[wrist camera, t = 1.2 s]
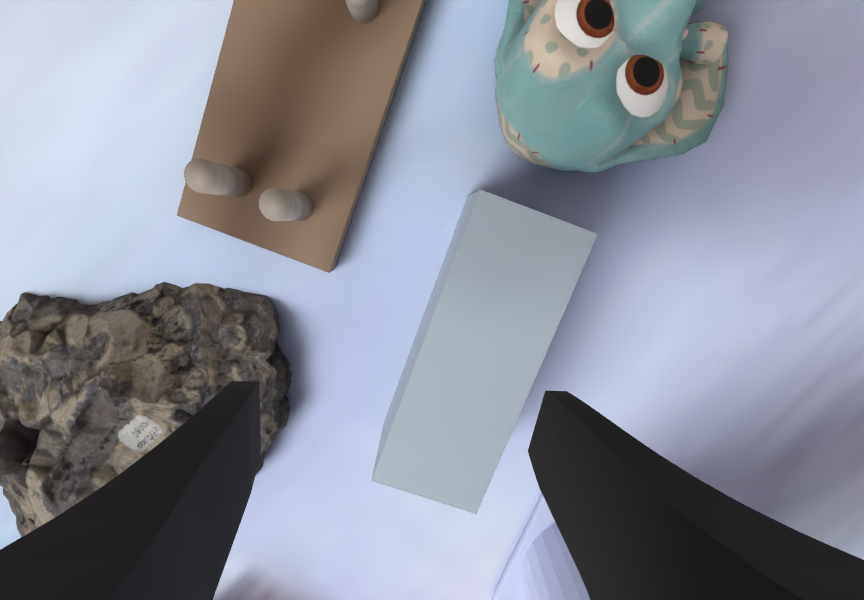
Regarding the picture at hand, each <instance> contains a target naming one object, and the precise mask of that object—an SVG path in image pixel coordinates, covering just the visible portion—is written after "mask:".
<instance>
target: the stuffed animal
mask: <svg viewBox="0 0 864 600" xmlns="http://www.w3.org/2000/svg"><path fill="white" fill-rule="evenodd" d="M708 1H709V0H509V4H508V11H507V18H506V23H505V28H504V31H503V34H502V37H501V40H500V42H499V45H498V48H497V51H496V56H495V74H496V78H497V84H496V91H495V96H496V103H497V109H498V116H499V123H500V127H501V130H502V133H503V135H504V138H505V141H506V143H507V144H508V145H509V147H510V148H511V150H512V151H513V152H514V153H515V154H516V155H518V156H519V157H520V158H521V159H523V160H525V161H527V162H529V163H532V164H535V165H539V166H543V167H548V168H552V169H557V170H561V171H575V170H578V171H581V172H602V171H604V170H607V169H609V168H612V167H614V166H617V165H619V164H625V163H632V162H638V161H645V160H651V159H657V158H663V157H669V156H675V155H681V154H684V153H686V152H687V151H689V150H691V149H693V148H695V147H696V146H698V145H700V144H702V143H703V142H705V141H706V140H707V138H708V136H709V134H710V132H711V130H712V128H713V126H714V124H715V122H716V120H717V118H718V116H719V113H720V111H721V109H722V107H723V103H724V94H725V85H726V76H727V67H728V55H727V45H726V43H727V38H728V32H727V30H726V27H725V26H723V25H720V24H717V23H715V22H710V21H698V22H693V23H689V24H688V22H689V20H690V17H691V15H692V14H694V13H695V12H697V11H698V10H699V9H701V8H702V7H703V6H705V5H706V4H707V3H708Z"/></svg>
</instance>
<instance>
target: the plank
mask: <svg viewBox="0 0 864 600" xmlns="http://www.w3.org/2000/svg"><path fill="white" fill-rule="evenodd" d="M597 235H598V234H597V233H594V232H591V231H589V230H586V229H584V228H581V227H578V226H576V225H573V224H570V223H568V222H565V221H562V220H560V219H557V218H555V217H552V216H549V215H547V214H544V213H541V212H539V211H536V210H533V209H531V208H528V207H526V206H523V205H520V204H518V203H515V202H512V201H510V200H507V199H505V198H502V197H499V196H497V195H494V194H491V193H489V192H486V191H483V190H481V189H480V190H478V191H476V192H474V193H472V194H470V195H469V196H467V199H466V201H465V204H464V207H463V210H462V212H461V215H460V218H459V220H458V223H457V226H456V229H455V231H454V234H453V237H452V239H451V242H450V245H449V247H448V250H447V253H446V256H445V258H444V261H443V264H442V266H441V269H440V272H439V275H438V277H437V280H436V283H435V285H434V288H433V291H432V294H431V296H430V299H429V302H428V304H427V307H426V310H425V313H424V315H423V318H422V321H421V323H420V326H419V329H418V331H417V334H416V337H415V340H414V342H413V345H412V348H411V350H410V353H409V356H408V359H407V361H406V364H405V367H404V369H403V372H402V375H401V378H400V380H399V383H398V386H397V388H396V391H395V394H394V397H393V399H392V402H391V405H390V407H389V410H388V413H387V415H386V418H385V421H384V424H383V429H382V434H381V438H380V443H379V448H378V452H377V457H376V462H375V466H374V471H373V476H372V481H374V482H377V483H380V484H383V485H386V486H390V487H393V488H396V489H399V490H402V491H405V492H409V493H412V494H415V495H418V496H421V497H424V498H428V499H431V500H434V501H437V502H440V503H443V504H447V505H450V506H453V507H456V508H459V509H462V510H466V511H469V512H472V513H475V514H477V511H478V509H479V507H480V505H481V502H482V500H483V498H484V495H485V493H486V491H487V488H488V486H489V484H490V482H491V479H492V477H493V475H494V472H495V470H496V468H497V465H498V463H499V461H500V459H501V456H502V454H503V452H504V449H505V447H506V445H507V442H508V440H509V438H510V436H511V433H512V431H513V429H514V426H515V424H516V422H517V419H518V417H519V415H520V412H521V410H522V408H523V406H524V403H525V401H526V399H527V396H528V394H529V392H530V389H531V387H532V385H533V383H534V380H535V378H536V376H537V373H538V371H539V369H540V366H541V364H542V362H543V360H544V357H545V355H546V353H547V350H548V348H549V346H550V343H551V341H552V339H553V336H554V334H555V332H556V330H557V327H558V325H559V323H560V320H561V318H562V316H563V313H564V311H565V309H566V307H567V304H568V302H569V300H570V297H571V295H572V293H573V290H574V288H575V286H576V284H577V281H578V279H579V277H580V274H581V272H582V270H583V267H584V265H585V263H586V261H587V258H588V256H589V254H590V251H591V249H592V247H593V244H594V242H595V240H596V237H597Z"/></svg>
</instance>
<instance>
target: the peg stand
mask: <svg viewBox="0 0 864 600" xmlns="http://www.w3.org/2000/svg"><path fill="white" fill-rule="evenodd" d="M426 1H427V0H234V3H233V6H232V10H231V14H230V18H229V21H228V25H227V29H226V33H225V37H224V40H223V44H222V48H221V52H220V55H219V59H218V63H217V67H216V70H215V74H214V78H213V82H212V85H211V89H210V93H209V97H208V100H207V104H206V108H205V112H204V115H203V119H202V123H201V127H200V131H199V134H198V138H197V142H196V146H195V149H194V153H193V157H192V161H190V162H189V163H188V164H187V165H186V167H185V170H184V178H185V181H186V183H185V187H184V191H183V194H182V198H181V202H180V206H179V209H178V213H177V216H180V217H182V218H185V219H188V220H190V221H193V222H196V223H198V224H201V225H204V226H206V227H209V228H212V229H214V230H217V231H220V232H222V233H225V234H228V235H230V236H233V237H236V238H238V239H241V240H243V241H246V242H249V243H251V244H254V245H257V246H259V247H262V248H265V249H267V250H270V251H273V252H275V253H278V254H281V255H283V256H286V257H289V258H291V259H294V260H297V261H299V262H302V263H305V264H307V265H310V266H313V267H315V268H318V269H320V270H323V271H326V272H328V273H329V272H331V271H333V270H334V268H335V265H336V262H337V259H338V257H339V254H340V251H341V248H342V245H343V242H344V239H345V236H346V233H347V230H348V227H349V225H350V222H351V219H352V216H353V213H354V210H355V207H356V204H357V201H358V198H359V196H360V193H361V190H362V187H363V184H364V181H365V178H366V175H367V172H368V169H369V167H370V164H371V161H372V158H373V155H374V152H375V149H376V146H377V143H378V140H379V137H380V135H381V132H382V129H383V126H384V123H385V120H386V117H387V114H388V111H389V108H390V106H391V103H392V100H393V97H394V94H395V91H396V88H397V85H398V82H399V79H400V77H401V74H402V71H403V68H404V65H405V62H406V59H407V56H408V53H409V50H410V47H411V45H412V42H413V39H414V36H415V33H416V30H417V27H418V24H419V21H420V18H421V16H422V13H423V10H424V7H425V4H426Z"/></svg>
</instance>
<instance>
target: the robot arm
mask: <svg viewBox="0 0 864 600" xmlns="http://www.w3.org/2000/svg"><path fill="white" fill-rule="evenodd" d="M260 452H261V432H260V382H252V381H231V382H230V383H228V384H227V385H226V386H225V387H224V388H223V389H221V390H220V391H219V392H218V393H217V394H216V395H215V396H214V397H213V398H211V399H210V400H209V401H208V402H207V403H206V404H205V405H204V406H203V407H201V408H200V409H199V410H198V411H197V412H196V413H195V414H194V415H192V416H191V417H190V418H189V419H188V420H187V421H185V422H184V423H183V424H182V425H181V426H180V427H178V428H177V429H176V430H175V431H174V432H172V433H171V434H170V435H169V436H168V437H167V438H165V439H164V440H163V441H162V442H160V443H159V444H158V445H157V446H155V447H154V448H153V449H152V450H150V451H149V452H148V453H146V454H145V455H144V456H143V457H141V458H140V459H139V460H137V461H136V462H135V463H133V464H132V465H131V466H130V467H128V468H127V469H126V470H124V471H123V472H122V473H120V474H119V475H118V476H116V477H115V478H113V479H112V480H111V481H109V482H108V483H106V484H105V485H104V486H102V487H101V488H99V489H98V490H96V491H95V492H93V493H92V494H90V495H89V496H87V497H86V498H84V499H83V500H81V501H80V502H78V503H77V504H75V505H74V506H72V507H71V508H69V509H68V510H66V511H64V512H63V513H61V514H60V515H58V516H57V517H55V518H53V519H52V520H50V521H48V522H47V523H45V524H43V525H42V526H40V527H38V528H36V529H35V530H33V531H31V532H30V533H28V534H26V535H25V536H23V537H21V538H20V539H18V540H16V541H15V542H13V543H11V544H9V545H8V546H6V547H4V548H3V549H1V550H0V600H213V597H214V594H215V591H216V588H217V586H218V583H219V580H220V577H221V575H222V572H223V569H224V566H225V563H226V561H227V558H228V555H229V552H230V550H231V547H232V544H233V541H234V539H235V536H236V533H237V530H238V528H239V525H240V522H241V519H242V516H243V514H244V511H245V508H246V505H247V502H248V499H249V497H250V494H251V490H252V486H253V482H254V478H255V474H256V470H257V465H258V461H259V456H260ZM528 453H529V456H530V459H531V463H532V466H533V470H534V473H535V476H536V479H537V482H538V485H539V487H540V490H541V492H542V496H541V498H540V500H539V502H538V504H537V506H536V508H535V510H534V512H533V515H532V517H531V519H530V521H529V523H528V525H527V527H526V529H525V531H524V533H523V535H522V537H521V539H520V541H519V543H518V545H517V547H516V549H515V551H514V553H513V555H512V557H511V559H510V561H509V563H508V566H507V568H506V570H505V572H504V574H503V576H502V578H501V580H500V582H499V584H498V586H497V588H496V590H495V592H494V594H493V596H492V600H864V560H862V559H860V558H858V557H855V556H853V555H851V554H848V553H846V552H844V551H841V550H839V549H837V548H834V547H832V546H830V545H827V544H825V543H823V542H820V541H818V540H816V539H814V538H811V537H809V536H807V535H805V534H803V533H800V532H798V531H796V530H794V529H792V528H790V527H788V526H786V525H784V524H782V523H780V522H778V521H775V520H773V519H771V518H769V517H767V516H765V515H763V514H761V513H759V512H757V511H755V510H753V509H751V508H749V507H747V506H746V505H744V504H742V503H740V502H738V501H736V500H734V499H732V498H731V497H729V496H727V495H725V494H723V493H722V492H720V491H718V490H716V489H715V488H713V487H711V486H709V485H708V484H706V483H704V482H702V481H700V480H699V479H697V478H695V477H694V476H692V475H690V474H689V473H687V472H686V471H684V470H682V469H681V468H679V467H678V466H676V465H675V464H673V463H671V462H670V461H668V460H667V459H665V458H664V457H662V456H661V455H659V454H657V453H656V452H654V451H653V450H651V449H650V448H649V447H647V446H646V445H644V444H643V443H641V442H640V441H638V440H637V439H635V438H634V437H632V436H631V435H630V434H628V433H627V432H625V431H624V430H622V429H621V428H620V427H618V426H617V425H615V424H614V423H613V422H611V421H610V420H608V419H607V418H606V417H604V416H603V415H601V414H600V413H599V412H597V411H596V410H594V409H593V408H591V407H590V406H589V405H587V404H586V403H584V402H583V401H581V400H580V399H578V398H577V397H575V396H573V395H572V394H570V393H568V392H567V391H545V394H544V398H543V401H542V404H541V408H540V411H539V415H538V418H537V422H536V425H535V428H534V432H533V435H532V439H531V442H530V446H529V449H528Z"/></svg>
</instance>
